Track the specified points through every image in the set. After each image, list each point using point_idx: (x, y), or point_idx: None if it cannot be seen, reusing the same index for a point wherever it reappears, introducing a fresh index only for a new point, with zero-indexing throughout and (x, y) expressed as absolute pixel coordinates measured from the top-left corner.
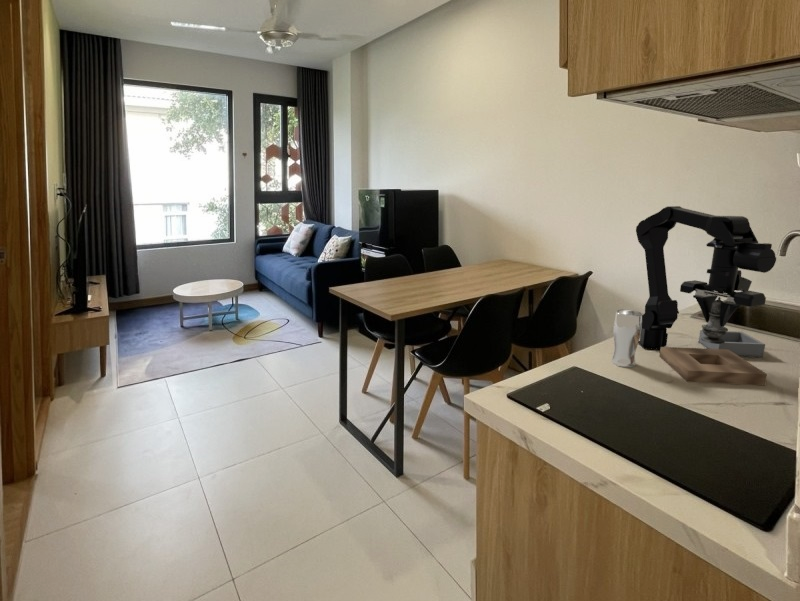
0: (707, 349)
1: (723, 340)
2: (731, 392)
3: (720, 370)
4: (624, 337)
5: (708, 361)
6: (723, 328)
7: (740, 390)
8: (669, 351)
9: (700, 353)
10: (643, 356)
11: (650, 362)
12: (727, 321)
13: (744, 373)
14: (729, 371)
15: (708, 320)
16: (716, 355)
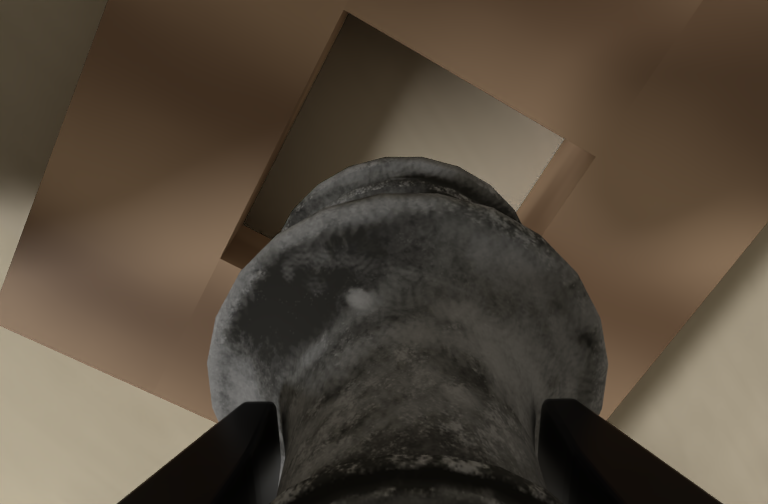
0: None
1: (480, 186)
2: (728, 397)
3: (612, 361)
4: None
5: (314, 76)
6: (560, 389)
7: (745, 320)
8: (119, 350)
9: (248, 139)
10: (13, 383)
11: (138, 431)
12: (640, 446)
13: (749, 242)
14: (662, 319)
15: (275, 481)
16: (337, 20)
